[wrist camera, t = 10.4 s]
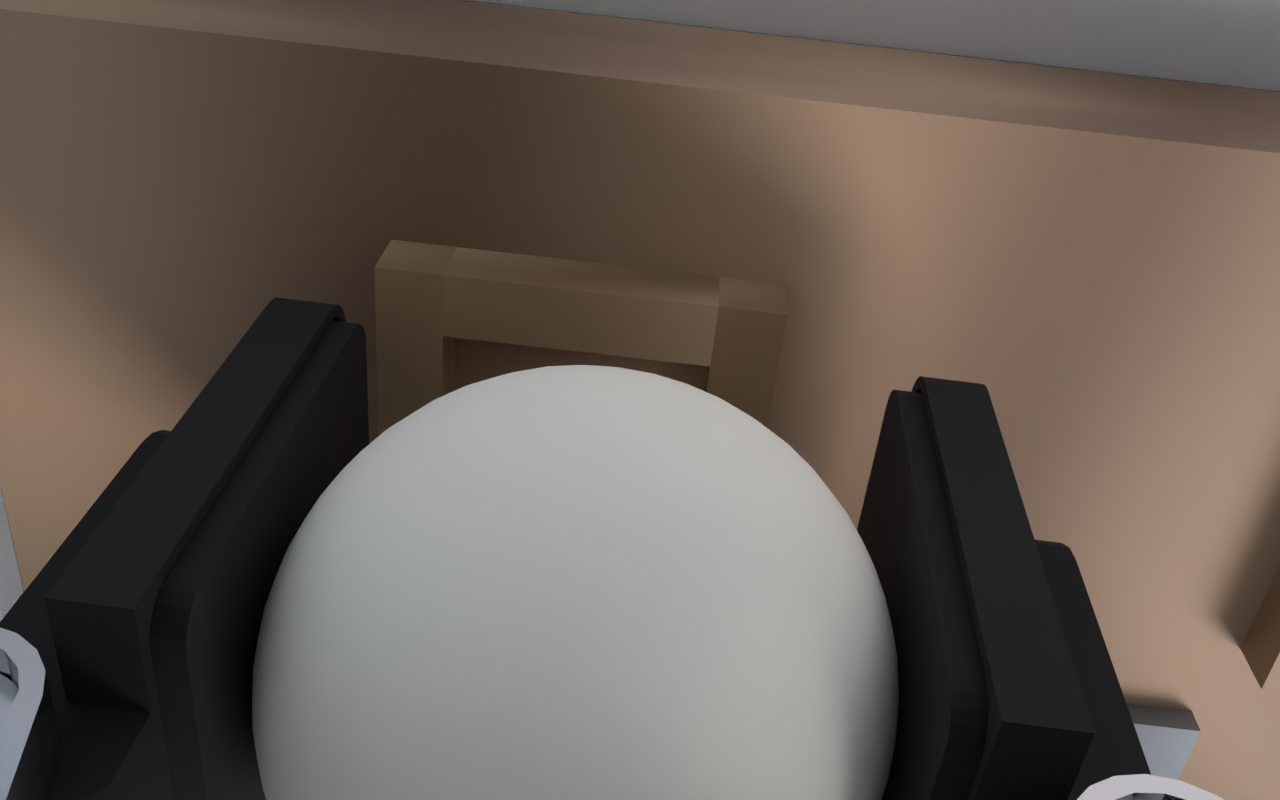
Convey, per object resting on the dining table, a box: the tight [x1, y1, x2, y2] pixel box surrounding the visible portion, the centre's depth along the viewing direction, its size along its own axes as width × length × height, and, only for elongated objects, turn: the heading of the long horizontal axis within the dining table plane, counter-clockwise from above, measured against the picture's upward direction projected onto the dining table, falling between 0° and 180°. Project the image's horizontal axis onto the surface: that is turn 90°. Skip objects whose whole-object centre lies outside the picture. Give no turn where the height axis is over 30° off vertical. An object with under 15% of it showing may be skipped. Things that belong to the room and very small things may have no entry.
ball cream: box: [252, 365, 899, 800], centre depth 9 cm, size 4×4×4 cm
